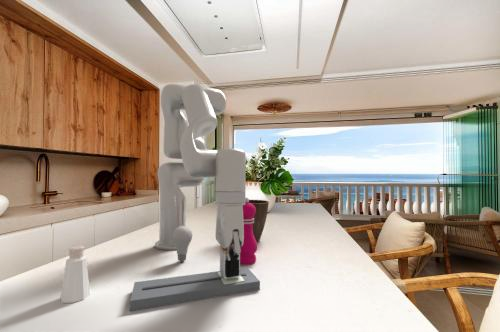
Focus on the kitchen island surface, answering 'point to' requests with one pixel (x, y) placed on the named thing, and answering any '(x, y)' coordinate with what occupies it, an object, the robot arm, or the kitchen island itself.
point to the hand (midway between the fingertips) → (229, 271)
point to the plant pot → (259, 217)
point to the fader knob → (223, 262)
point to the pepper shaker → (75, 277)
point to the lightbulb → (182, 241)
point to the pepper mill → (248, 235)
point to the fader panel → (189, 288)
